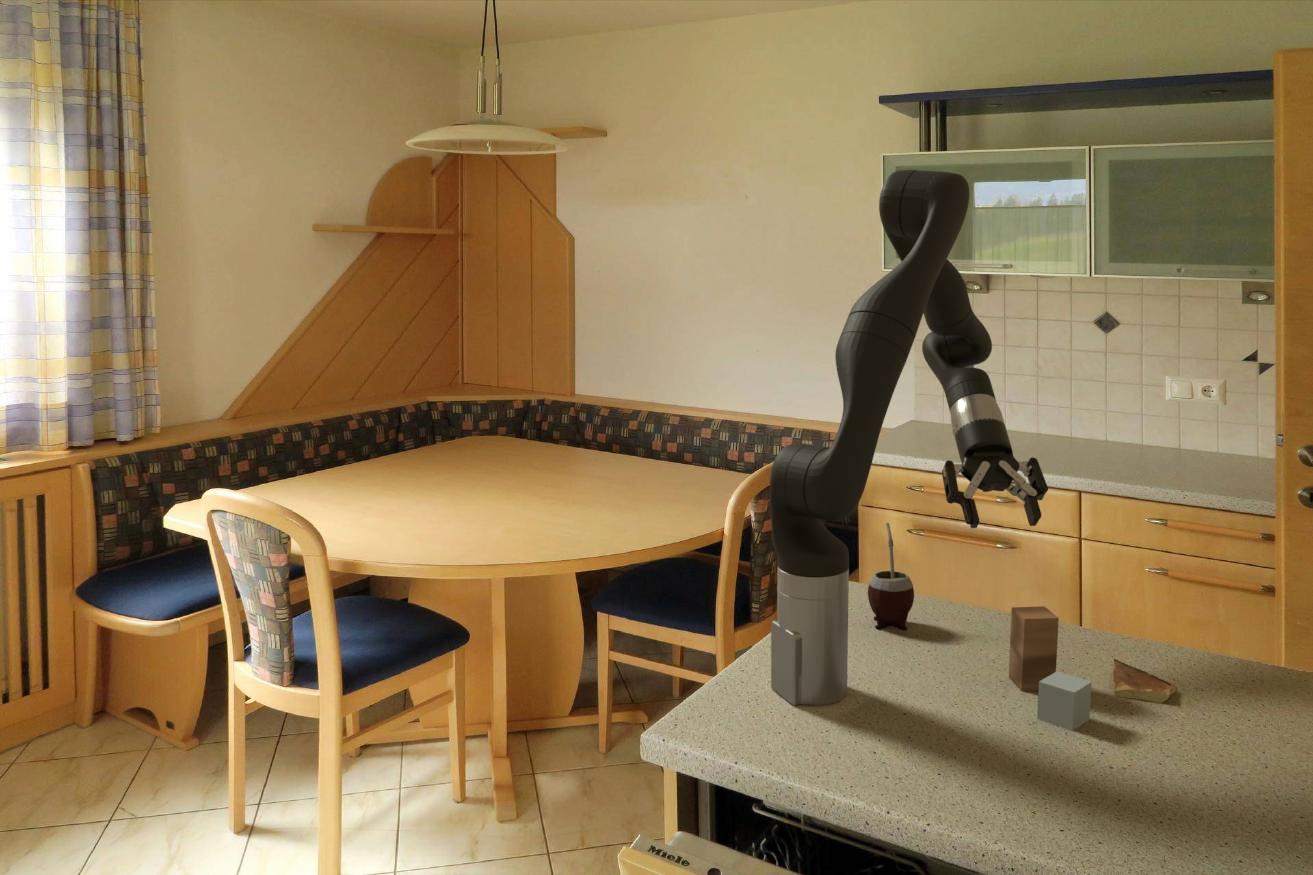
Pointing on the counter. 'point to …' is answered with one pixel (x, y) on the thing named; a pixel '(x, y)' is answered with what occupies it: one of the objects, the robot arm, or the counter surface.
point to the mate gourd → (890, 595)
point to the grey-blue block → (1064, 700)
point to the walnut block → (1032, 646)
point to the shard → (1139, 684)
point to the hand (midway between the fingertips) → (1005, 524)
